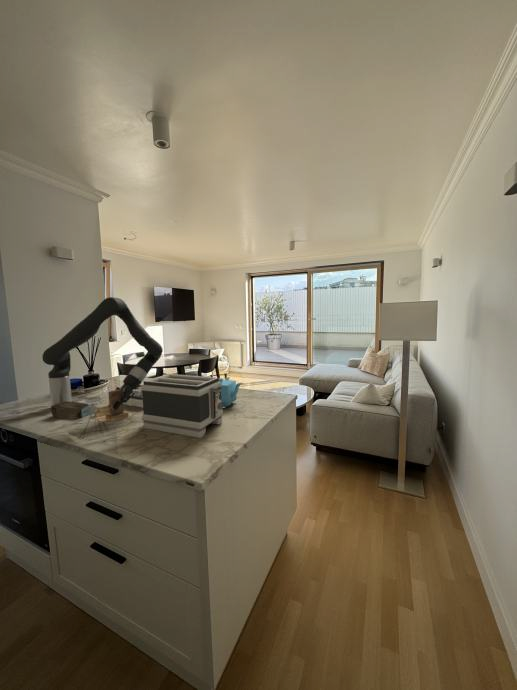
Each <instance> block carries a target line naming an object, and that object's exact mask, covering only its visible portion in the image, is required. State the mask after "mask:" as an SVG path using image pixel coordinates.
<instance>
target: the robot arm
mask: <svg viewBox="0 0 517 690" xmlns="http://www.w3.org/2000/svg"><path fill="white" fill-rule="evenodd" d="M112 316H115V317H116V316H117V317H118V318H119V319H120V320H122V322H123V323H124V324H125V327H126V328H127V330H128V332H129V334H130V336H131V337H132V338H133V339H134V340H135V342H137V344H138V345H139V346H140V347H143V348H144V349H145V350H146V351H147V352H146V353H145V355H144V356H143V357H142V358H140V360H138V362H137V363H136V365H135V366H134V367H133V368H131V370H130V371H129V372H128V373H127V375H126V376H125V378H124V379H123V380H122V383H123V384H122V385H121V386H120V387H119V386H117V387H115V390H122V393H121V394H120V398H119V399H118V401H117V402H116V403H115V405H114V406H113V407H112V408H113V409H115V410H117V409H118V408H119V406H120V405H121V404H122V403H126V402H127V401H128V400H129V399H130V398H131V397H132V396H133V395H134V394H135V393H134V392H133V389H135V390H136V389H137V388H138V387H139V385H142V383H143V381H145V379H146V377H147V375H148V374H149V372H150V371H151V369H152V368H153V367H154V365H155V364H156V363H157V362H158V361H159V360H160V358H161V357H162V356H163V355H162V354H163V347H162V345H161V344H160V343H159V342H158V341H157V340H156V339H154V338H153V337H152V336H151V335H150V334H149V333H148V332H147V330H145V328H144V327H143V326H142V325H141V324H140V323H139V321H138V320H137V318H136V317H135V316H134V315H133V312H132V311H131V310H130V308H129V306H128V305H127V303H126V301H124V300H123V299H122V298H118V297H112V296H109V297H106V298H105V299H103V300H102V301H101V302H100V303H99V304H98V305H97V306H96V308H95V309H94V310H93V311H92V312H91V313H89V314H88V315H87V316H86V317H85V318H84V319H82V320H81V321H80V322H79V323H78V324H76V325H75V326H74V327H73V328H71V330H69V332H67V333H66V334H65V335H64V336H62V338H61V339H59V340H58V341H57V342H55V343H54V344H52V345H51V346H49V347H48V348H47V349H45V350H44V352H43V353H42V355H41V356H42V361H43V363H45V364H46V365H49V366H53V367H52V369H50V371H48V383H49V384H48V385H49V395H50V396H49V397H50V407H51V406H53V405H56V404H58V403H62V402H64V401H68V402H73V401H72V399H73V398H72V390H71V389H72V388H71V380H70V379H71V378H70V372H71V353H70V351H72V350H74V349H76V348H78V347H80V346H82V345H84V344H85V343H87V342H88V341H89V340H91V339H92V338H94V336H95V335H96V334H97V333H98V332H99V330H100V327H101V325H102V324H103V323H104V322H106V320H108V319H109V318H110V317H112ZM125 399H126V400H125ZM108 407H109V405H108Z"/></svg>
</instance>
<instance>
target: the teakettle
mask: <svg viewBox="0 0 517 690" xmlns="http://www.w3.org/2000/svg"><path fill="white" fill-rule="evenodd" d="M218 378H219V381H220V382H221V383H222V386H221V402H222V403H223V407H226V406H227V407H229V406H230V405H232V404H233V403H234V402H235V401H236V400H237V394H238V392H239V388H240V386H241V385H243V384H244V382H237V380H234V379H233V380H230V376H227V377H226V378H225V379H224V378H223V377H218ZM231 403H232V404H231Z"/></svg>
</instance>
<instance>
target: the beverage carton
mask: <svg viewBox="0 0 517 690" xmlns="http://www.w3.org/2000/svg"><path fill="white" fill-rule="evenodd" d="M50 408H51V416H52V418H56V417H57V418H58V419H69V418H76V419H77V418H79V419H83V418H85V417H88V416H91V415H93V414H94V412H96V409H95V404H93V403H84V402H77V401H76V402H75V401H72V402H68V401H64V402H62V403H58V404H56V405H53V406H51V405H50ZM94 415H95V414H94ZM57 418H56V419H57Z"/></svg>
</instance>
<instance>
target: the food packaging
mask: <svg viewBox="0 0 517 690" xmlns="http://www.w3.org/2000/svg"><path fill="white" fill-rule="evenodd" d="M142 385H143V384H140V385H139V387H138V388H137V389H136V390H135V389H133V392H134V393H135V394H134V395H133V396H132V397H131V398H130V399H129V400H128V401H127V402H126V403H123V405H124V406H125V405H126V406H129V407H130V406H131V407H137V408H138V407H139V408H142V409H143V398H142V390H141V386H142ZM125 400H126V399H125Z"/></svg>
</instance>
